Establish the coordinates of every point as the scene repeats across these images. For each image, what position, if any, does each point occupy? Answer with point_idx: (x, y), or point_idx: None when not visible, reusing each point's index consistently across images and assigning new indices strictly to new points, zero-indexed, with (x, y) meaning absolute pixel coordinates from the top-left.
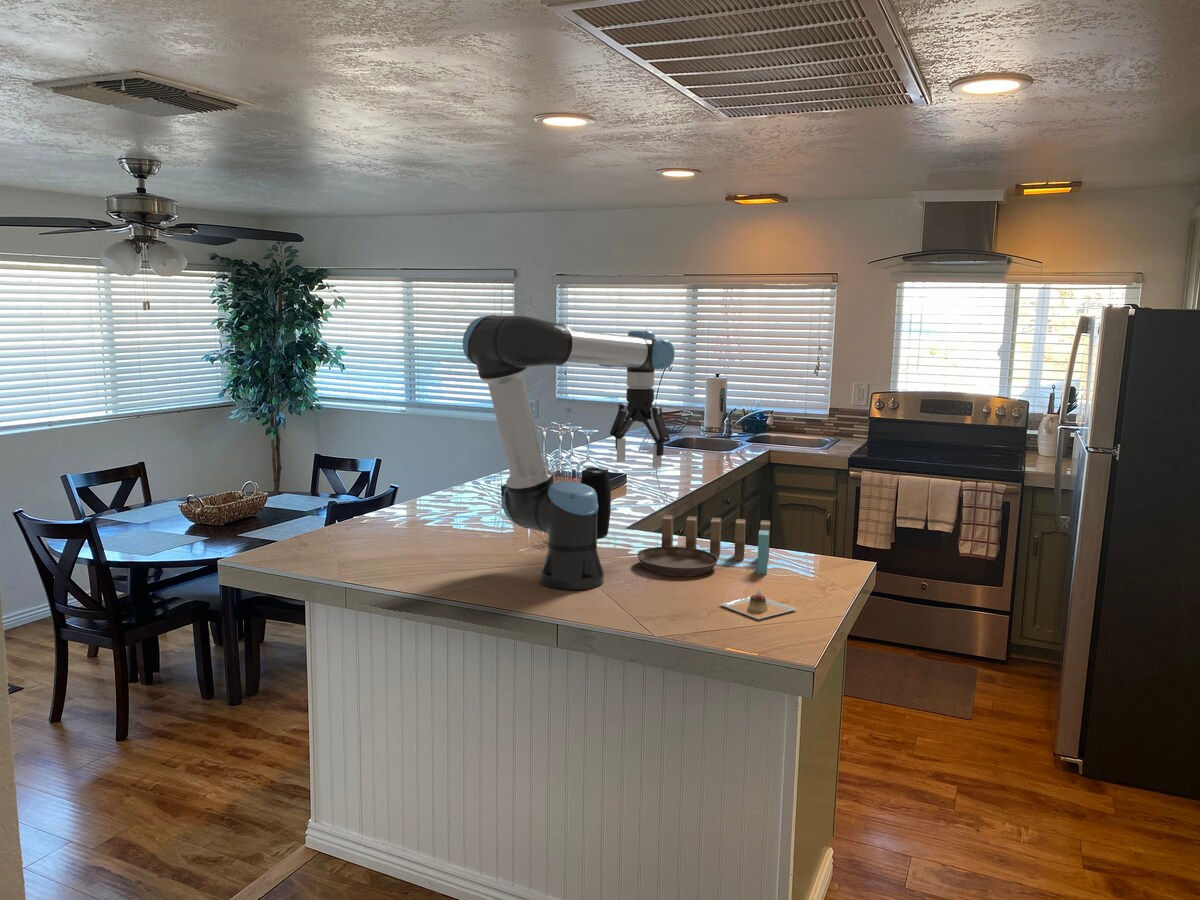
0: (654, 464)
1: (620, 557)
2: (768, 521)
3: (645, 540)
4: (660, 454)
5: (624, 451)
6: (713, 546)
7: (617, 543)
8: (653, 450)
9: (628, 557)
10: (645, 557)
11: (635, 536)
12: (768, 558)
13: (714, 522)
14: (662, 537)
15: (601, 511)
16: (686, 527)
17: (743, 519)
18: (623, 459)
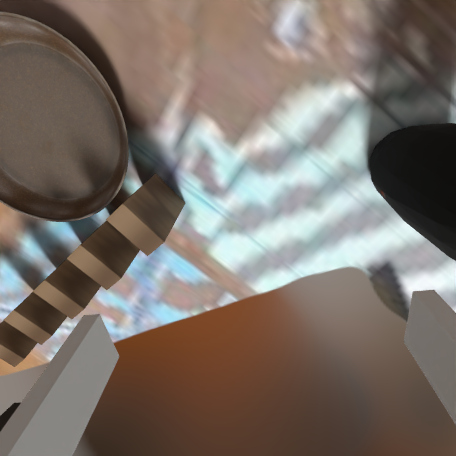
0: (72, 332)
1: (181, 68)
2: (9, 361)
3: (277, 226)
4: (6, 419)
5: (448, 403)
6: None
7: (297, 156)
8: (17, 435)
9: (172, 88)
10: (107, 94)
11: (319, 232)
12: None
13: (41, 283)
14: (141, 186)
15: (402, 174)
16: (91, 235)
17: (42, 341)
18: (413, 341)
